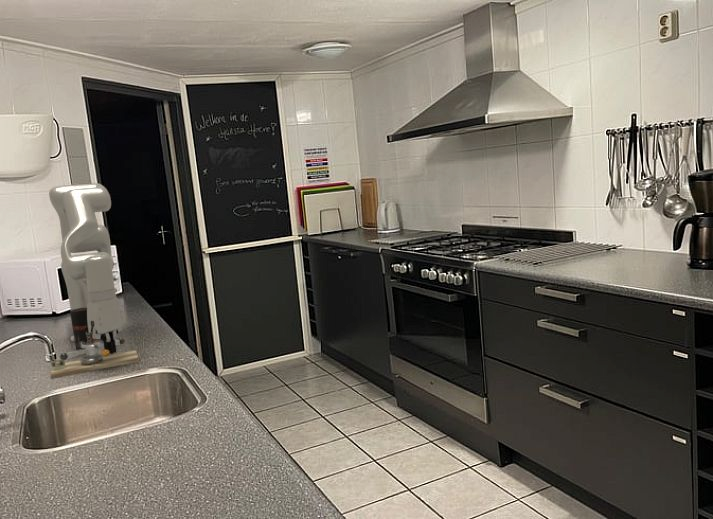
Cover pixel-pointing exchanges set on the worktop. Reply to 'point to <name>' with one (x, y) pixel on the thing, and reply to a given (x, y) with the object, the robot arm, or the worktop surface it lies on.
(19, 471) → the worktop surface
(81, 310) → the deodorant
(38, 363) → the worktop surface
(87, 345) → the capstan
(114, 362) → the board
